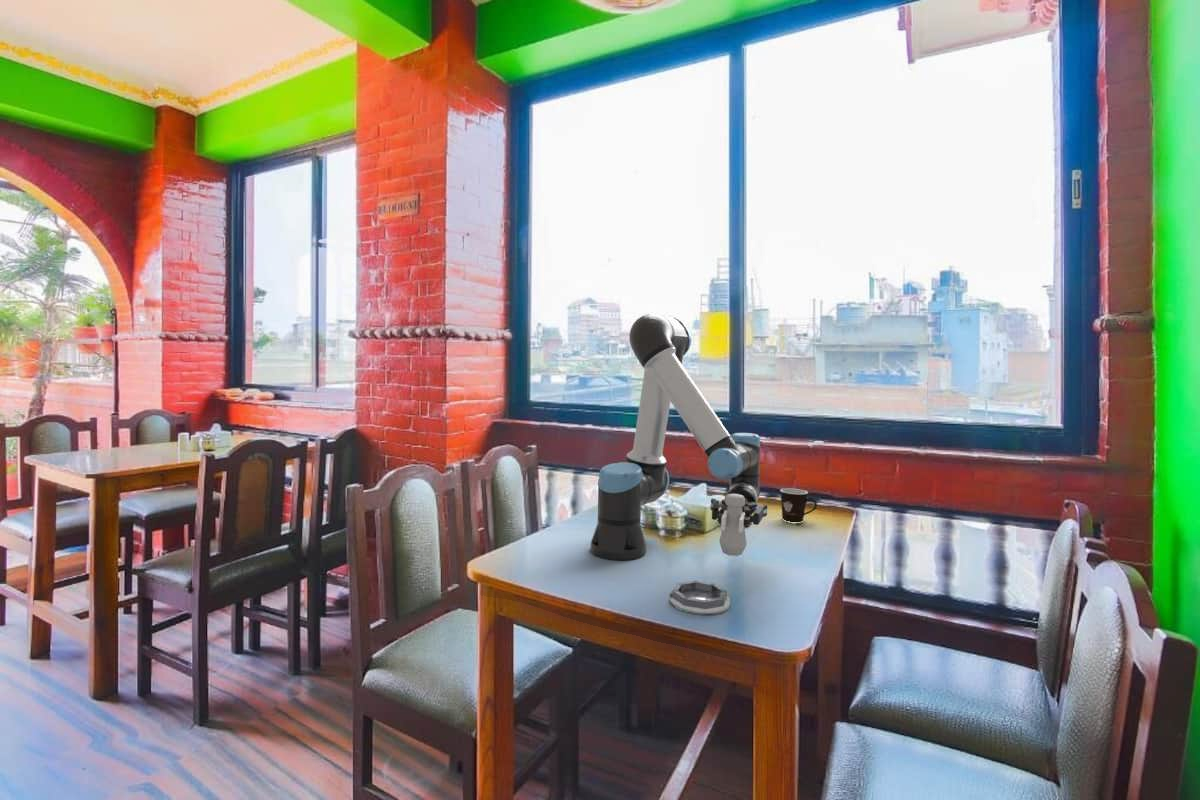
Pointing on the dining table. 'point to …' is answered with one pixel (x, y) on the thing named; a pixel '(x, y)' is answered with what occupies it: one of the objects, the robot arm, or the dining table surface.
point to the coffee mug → (794, 504)
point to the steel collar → (700, 597)
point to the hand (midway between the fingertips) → (731, 525)
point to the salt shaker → (733, 526)
